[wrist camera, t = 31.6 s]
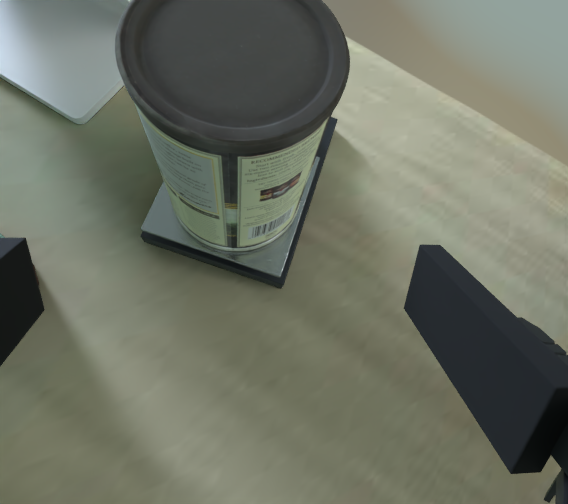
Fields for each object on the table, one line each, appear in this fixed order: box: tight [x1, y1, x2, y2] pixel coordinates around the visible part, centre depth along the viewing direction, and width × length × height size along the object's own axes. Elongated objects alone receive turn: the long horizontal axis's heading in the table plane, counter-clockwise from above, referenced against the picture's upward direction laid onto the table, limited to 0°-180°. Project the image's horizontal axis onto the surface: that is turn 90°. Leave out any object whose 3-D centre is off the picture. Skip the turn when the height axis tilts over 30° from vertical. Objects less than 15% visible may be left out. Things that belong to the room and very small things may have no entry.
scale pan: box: [141, 156, 320, 278], centre depth 30 cm, size 11×11×1 cm
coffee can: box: [115, 0, 350, 251], centre depth 23 cm, size 10×10×14 cm
